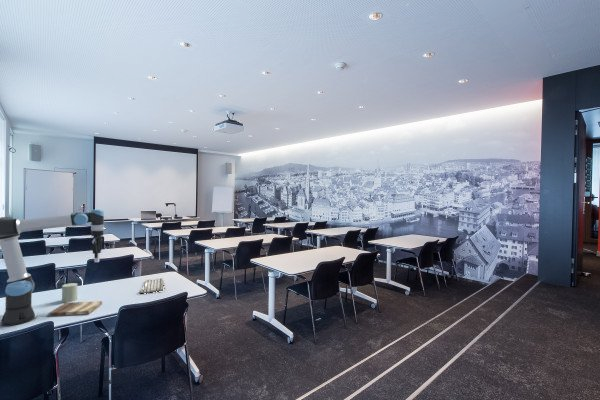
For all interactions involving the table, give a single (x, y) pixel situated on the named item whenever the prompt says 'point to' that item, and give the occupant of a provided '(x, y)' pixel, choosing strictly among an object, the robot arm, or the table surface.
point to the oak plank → (83, 308)
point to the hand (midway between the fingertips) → (96, 262)
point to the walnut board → (62, 309)
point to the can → (69, 292)
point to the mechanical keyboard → (152, 286)
